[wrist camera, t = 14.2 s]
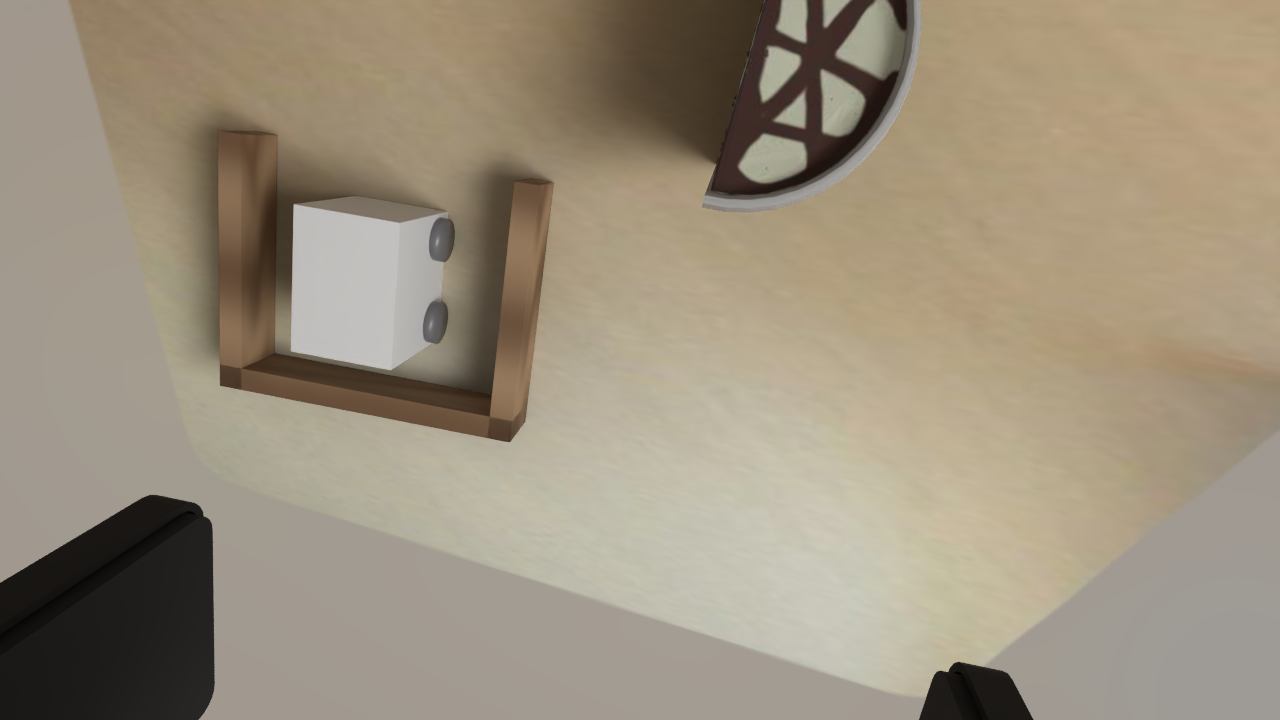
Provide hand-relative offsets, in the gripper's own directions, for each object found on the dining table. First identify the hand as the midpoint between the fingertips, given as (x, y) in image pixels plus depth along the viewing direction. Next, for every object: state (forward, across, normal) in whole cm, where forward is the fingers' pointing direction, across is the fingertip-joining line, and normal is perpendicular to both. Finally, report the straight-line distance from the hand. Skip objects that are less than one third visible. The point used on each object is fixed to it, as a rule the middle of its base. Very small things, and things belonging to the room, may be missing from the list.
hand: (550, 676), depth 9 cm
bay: (+30, +16, +2) cm, 34 cm away
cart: (+30, +15, +2) cm, 34 cm away
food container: (+31, -4, -10) cm, 32 cm away
